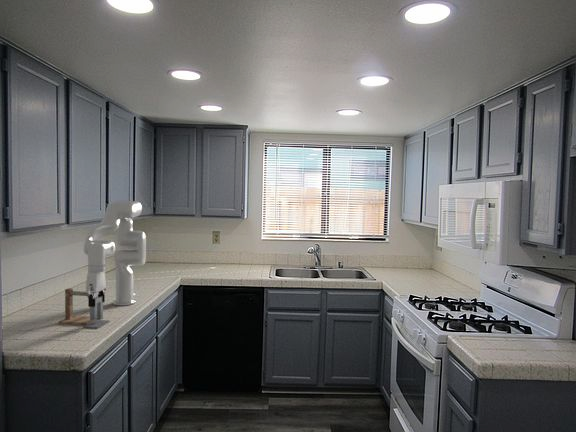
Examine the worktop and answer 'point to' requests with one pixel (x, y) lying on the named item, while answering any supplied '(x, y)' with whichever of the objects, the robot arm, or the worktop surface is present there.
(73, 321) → the hook stand
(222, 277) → the worktop surface
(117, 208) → the robot arm
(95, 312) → the grey u-shaped bracket
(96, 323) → the rubber mat
